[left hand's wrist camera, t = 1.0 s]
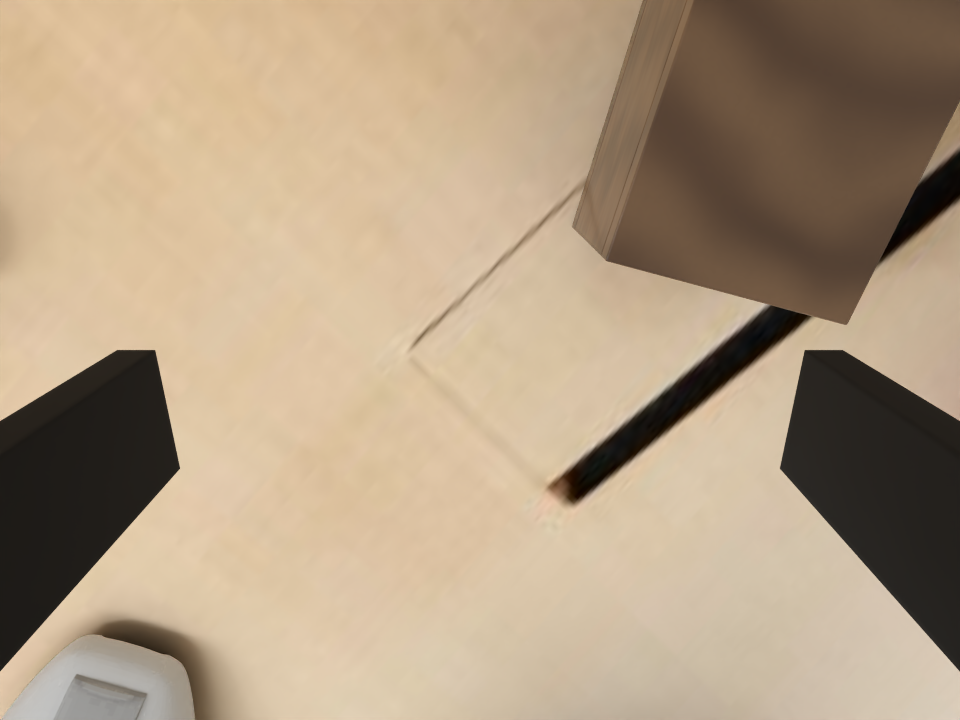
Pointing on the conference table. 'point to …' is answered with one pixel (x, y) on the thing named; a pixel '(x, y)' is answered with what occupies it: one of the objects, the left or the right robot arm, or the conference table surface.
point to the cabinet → (771, 143)
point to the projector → (106, 685)
